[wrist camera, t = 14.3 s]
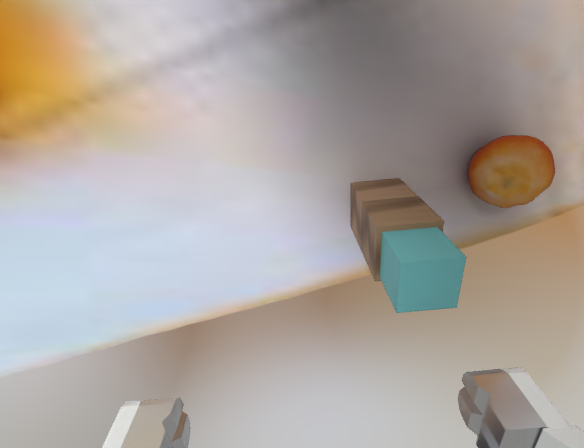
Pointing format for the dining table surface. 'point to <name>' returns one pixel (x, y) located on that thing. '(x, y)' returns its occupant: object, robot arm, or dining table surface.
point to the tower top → (392, 224)
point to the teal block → (421, 269)
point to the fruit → (511, 170)
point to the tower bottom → (374, 197)
